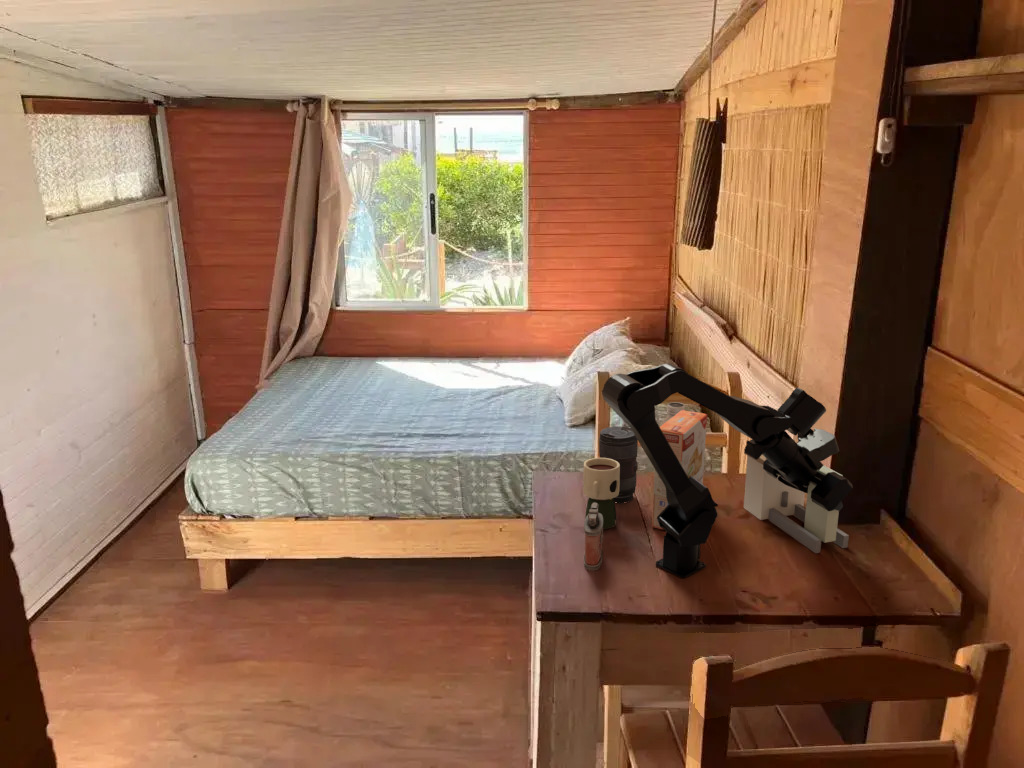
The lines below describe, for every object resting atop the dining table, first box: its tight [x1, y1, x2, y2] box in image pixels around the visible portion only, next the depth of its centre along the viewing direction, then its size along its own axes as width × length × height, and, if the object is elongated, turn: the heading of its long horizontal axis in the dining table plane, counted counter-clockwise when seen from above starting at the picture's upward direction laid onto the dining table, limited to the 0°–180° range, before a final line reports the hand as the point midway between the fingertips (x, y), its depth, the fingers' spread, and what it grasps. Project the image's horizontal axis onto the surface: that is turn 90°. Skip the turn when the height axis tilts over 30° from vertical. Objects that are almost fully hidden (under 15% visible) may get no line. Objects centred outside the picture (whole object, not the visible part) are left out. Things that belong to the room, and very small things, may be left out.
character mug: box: [582, 457, 620, 530], centre depth 153 cm, size 11×7×13 cm, turn 161°
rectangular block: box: [803, 464, 844, 544], centre depth 144 cm, size 2×6×13 cm, turn 17°
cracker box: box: [651, 409, 708, 531], centre depth 154 cm, size 14×6×21 cm, turn 148°
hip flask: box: [583, 503, 604, 571], centre depth 140 cm, size 8×3×10 cm, turn 170°
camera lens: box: [598, 425, 639, 504], centre depth 165 cm, size 8×8×15 cm
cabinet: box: [743, 448, 850, 554], centre depth 151 cm, size 11×22×13 cm, turn 17°
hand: (829, 501), depth 144 cm, fingers closed on rectangular block, 6 cm apart
